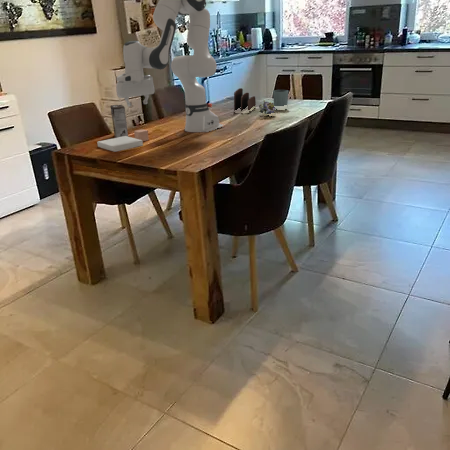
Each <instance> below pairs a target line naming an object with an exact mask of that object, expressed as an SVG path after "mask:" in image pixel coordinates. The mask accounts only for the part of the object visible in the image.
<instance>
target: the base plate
mask: <svg viewBox="0 0 450 450" xmlns="http://www.w3.org/2000/svg"><path fill="white" fill-rule="evenodd" d="M96 143H97V147H98V148H101V149H104V150H107V151H111V152H120V151H125V150H129V149H133V148H137V147H143V146H144V141H142V140H139V139H135V137H132V136H129V135H128V136H122V137H117V138H116V137H114V138H108V139H104V140H99V141H97V142H96Z"/></svg>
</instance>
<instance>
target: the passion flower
mask: <svg viewBox="0 0 450 450" xmlns="http://www.w3.org/2000/svg"><path fill="white" fill-rule="evenodd" d="M262 102H263V104H261V103H260V104H259V106H258V108H259V111H258V113H259V112H260V114H261V113H262V114H265V115H267V114H271V113H274V112H276V110H275V109H276V108H275V107H274V102H271V101H266V100H265V99H263V101H262Z"/></svg>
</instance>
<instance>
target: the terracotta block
mask: <svg viewBox="0 0 450 450" xmlns="http://www.w3.org/2000/svg"><path fill="white" fill-rule="evenodd" d="M133 134H134V138H135V139H139V140H142V141H143V142H146V141H150V140H149V139H150V138H149V131H148V130H147V129H136V130H133Z"/></svg>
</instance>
